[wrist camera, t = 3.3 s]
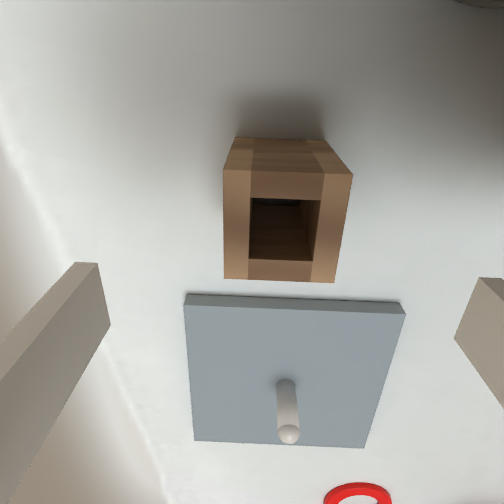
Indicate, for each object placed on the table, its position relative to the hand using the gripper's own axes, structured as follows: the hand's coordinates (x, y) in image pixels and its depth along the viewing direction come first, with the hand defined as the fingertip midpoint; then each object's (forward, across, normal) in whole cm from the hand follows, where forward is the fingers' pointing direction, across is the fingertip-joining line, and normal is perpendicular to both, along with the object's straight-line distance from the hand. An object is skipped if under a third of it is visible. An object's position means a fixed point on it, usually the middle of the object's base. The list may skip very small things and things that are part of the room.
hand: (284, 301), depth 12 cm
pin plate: (+14, +2, -19) cm, 24 cm away
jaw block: (+14, 0, 0) cm, 14 cm away
